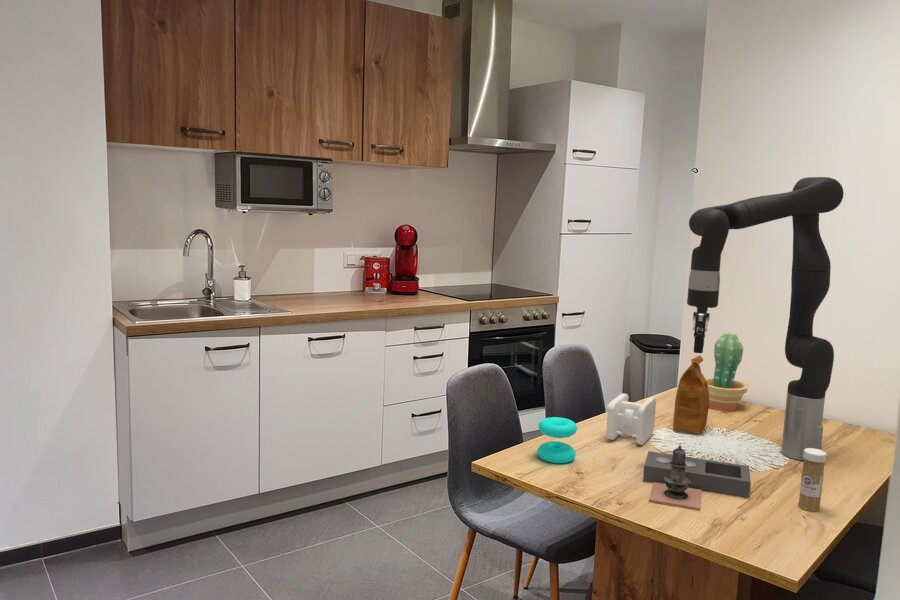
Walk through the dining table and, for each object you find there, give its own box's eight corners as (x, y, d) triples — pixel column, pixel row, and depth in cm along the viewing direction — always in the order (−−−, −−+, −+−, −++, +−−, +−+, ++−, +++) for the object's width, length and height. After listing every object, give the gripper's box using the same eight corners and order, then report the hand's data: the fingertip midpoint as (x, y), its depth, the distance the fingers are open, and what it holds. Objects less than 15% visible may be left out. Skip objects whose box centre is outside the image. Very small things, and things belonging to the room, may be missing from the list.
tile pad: (701, 492, 169) (701, 489, 169) (699, 510, 158) (700, 508, 158) (653, 484, 172) (653, 482, 172) (648, 501, 162) (648, 499, 162)
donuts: (532, 422, 185) (548, 413, 194) (530, 459, 187) (547, 448, 195) (567, 430, 180) (583, 420, 188) (565, 468, 181) (581, 456, 190)
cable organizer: (640, 449, 197) (643, 408, 195) (603, 442, 202) (606, 402, 200) (654, 434, 210) (657, 396, 208) (619, 428, 215) (621, 390, 213)
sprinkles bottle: (795, 507, 162) (801, 450, 160) (801, 501, 165) (806, 445, 163) (817, 513, 159) (824, 456, 157) (822, 507, 162) (829, 450, 160)
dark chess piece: (690, 501, 162) (694, 450, 160) (663, 498, 163) (667, 447, 161) (687, 490, 168) (691, 441, 166) (661, 488, 169) (665, 439, 167)
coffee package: (711, 426, 219) (717, 356, 216) (702, 437, 208) (708, 364, 205) (678, 420, 224) (684, 352, 221) (668, 431, 213) (673, 359, 210)
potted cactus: (754, 407, 241) (760, 334, 238) (735, 416, 230) (742, 340, 226) (709, 397, 252) (715, 328, 248) (690, 406, 240) (696, 333, 237)
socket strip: (747, 481, 176) (749, 465, 176) (749, 498, 166) (750, 481, 165) (647, 465, 184) (648, 450, 184) (643, 481, 174) (644, 464, 174)
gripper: (719, 291, 174) (713, 356, 177) (719, 285, 188) (714, 346, 190) (686, 289, 177) (681, 353, 179) (689, 283, 190) (684, 343, 192)
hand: (698, 349), depth 185 cm, fingers open, 8 cm apart
